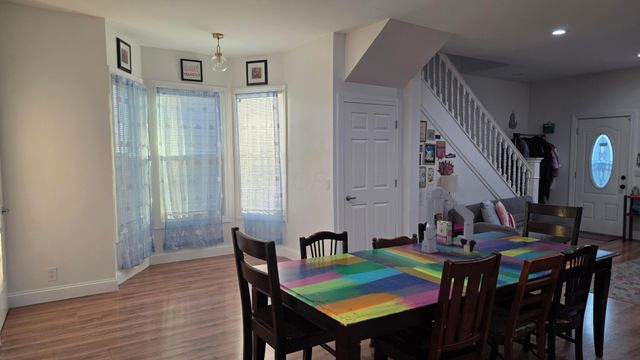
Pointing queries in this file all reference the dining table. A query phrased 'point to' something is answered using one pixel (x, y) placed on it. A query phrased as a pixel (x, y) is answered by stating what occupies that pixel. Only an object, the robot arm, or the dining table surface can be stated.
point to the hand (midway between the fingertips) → (468, 251)
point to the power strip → (461, 253)
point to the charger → (467, 249)
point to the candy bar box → (444, 232)
